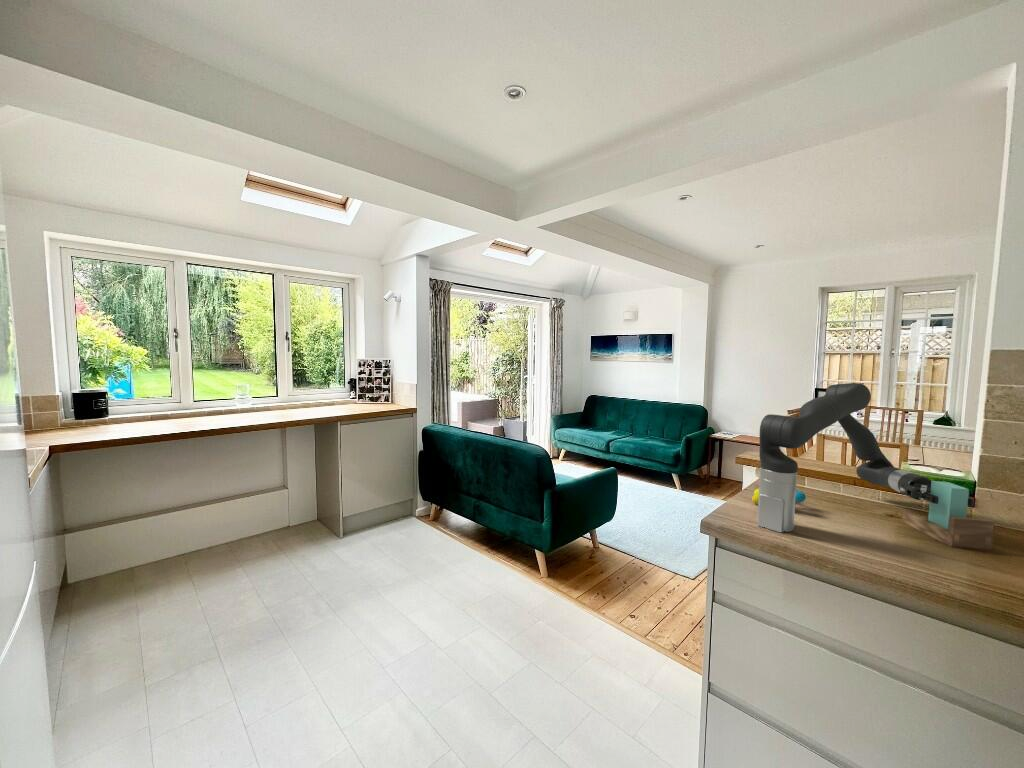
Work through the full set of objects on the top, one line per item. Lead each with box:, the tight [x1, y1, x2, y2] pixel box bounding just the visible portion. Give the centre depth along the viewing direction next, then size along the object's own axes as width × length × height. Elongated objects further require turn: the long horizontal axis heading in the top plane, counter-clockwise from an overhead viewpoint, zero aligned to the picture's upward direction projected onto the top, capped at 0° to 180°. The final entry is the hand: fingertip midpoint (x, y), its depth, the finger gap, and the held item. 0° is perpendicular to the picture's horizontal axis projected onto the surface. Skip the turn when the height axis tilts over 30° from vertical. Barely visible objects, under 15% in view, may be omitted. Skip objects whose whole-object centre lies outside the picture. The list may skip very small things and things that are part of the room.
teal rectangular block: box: [927, 480, 970, 530], centre depth 118 cm, size 7×4×14 cm, turn 168°
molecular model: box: [751, 488, 807, 506], centre depth 142 cm, size 15×10×15 cm
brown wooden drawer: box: [901, 510, 995, 551], centre depth 119 cm, size 18×9×8 cm, turn 169°
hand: (954, 501), depth 115 cm, fingers open, 8 cm apart
